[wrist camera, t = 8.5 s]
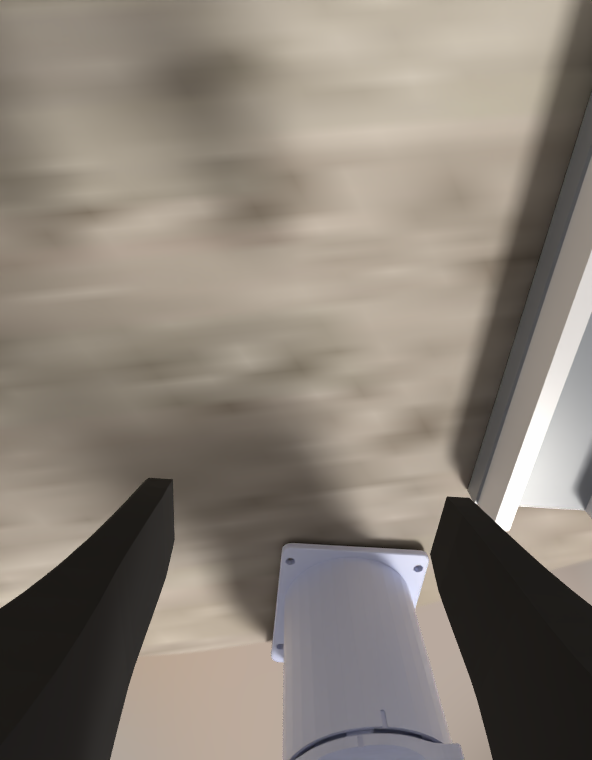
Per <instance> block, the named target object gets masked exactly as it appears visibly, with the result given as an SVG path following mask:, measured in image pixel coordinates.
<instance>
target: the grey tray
mask: <svg viewBox="0 0 592 760" xmlns="http://www.w3.org/2000/svg"><path fill="white" fill-rule="evenodd" d="M467 491H468V492H469V494H470V496H471V498H472V500H473V502H475V503H476V504H478V506H479V507H480V508H481V509H482V510H483V511H484V512H485V513H486V514H488V515H489V516H490V517H491V518H492V519H493V520H494V521H495V522H496V523H497V524H498V525H499V526H500V527H501V528H502V529H503V530H504V531H509V530H510V527H511V525H512V522H513V519H514V517H515V514H516V511H517V509H518V506H522V507H538V508H554V509H570V510H585V511H586V512H587V513H588V515H589V516H590V517H591V518H592V92H591V95H590V98H589V102H588V105H587V108H586V111H585V114H584V118H583V121H582V124H581V127H580V130H579V134H578V137H577V140H576V143H575V147H574V150H573V153H572V156H571V159H570V163H569V166H568V169H567V172H566V175H565V179H564V182H563V185H562V188H561V192H560V195H559V198H558V201H557V204H556V208H555V211H554V214H553V217H552V220H551V224H550V227H549V230H548V233H547V237H546V240H545V243H544V246H543V249H542V253H541V256H540V259H539V262H538V265H537V269H536V272H535V275H534V278H533V282H532V285H531V288H530V291H529V294H528V298H527V301H526V304H525V307H524V310H523V314H522V317H521V320H520V323H519V327H518V330H517V333H516V336H515V339H514V343H513V346H512V349H511V352H510V355H509V359H508V362H507V365H506V368H505V372H504V375H503V378H502V381H501V384H500V388H499V391H498V394H497V397H496V400H495V404H494V407H493V410H492V413H491V417H490V420H489V423H488V426H487V429H486V433H485V436H484V439H483V442H482V445H481V449H480V452H479V455H478V458H477V461H476V465H475V468H474V471H473V474H472V478H471V481H470V484H469V487H468V490H467Z"/></svg>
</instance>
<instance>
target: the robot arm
mask: <svg viewBox="0 0 592 760" xmlns="http://www.w3.org/2000/svg"><path fill="white" fill-rule="evenodd" d="M174 540H175V539H174V507H173V479H157V478H148V479H147V480H146V481H144V482H143V484H142V485H141V486H140V487H139V488H138V489H137V490H136V491H135V492H134V493H133V494H132V495H131V497H130V498H129V499H128V500H127V501H126V502H125V503H124V504H123V505H122V506H121V507H120V508H119V509H118V510H117V511H116V512H115V513H114V514H113V515H112V516H111V517H110V518H109V519H108V520H107V521H106V522H105V523H104V524H103V525H102V526H101V527H100V528H99V529H98V530H97V531H96V532H95V533H94V534H93V535H92V536H91V537H90V538H88V539H87V540H86V541H85V542H84V543H83V544H82V545H81V546H80V547H78V548H77V549H76V550H75V551H74V552H73V553H72V554H71V555H69V556H68V557H67V558H66V559H65V560H64V561H63V562H61V563H60V564H59V565H58V566H57V567H55V568H54V569H53V570H52V571H50V572H49V573H48V574H47V575H45V576H44V577H43V578H42V579H40V580H39V581H38V582H36V583H35V584H34V585H32V586H31V587H30V588H29V589H27V590H26V591H25V592H23V593H22V594H20V595H19V596H18V597H16V598H15V599H13V600H12V601H10V602H9V603H8V604H6V605H5V606H3V607H2V608H0V760H110V757H111V752H112V749H113V745H114V740H115V737H116V732H117V728H118V725H119V721H120V717H121V713H122V709H123V705H124V702H125V697H126V694H127V690H128V686H129V683H130V679H131V676H132V673H133V670H134V667H135V663H136V661H137V658H138V655H139V652H140V650H141V647H142V644H143V641H144V638H145V635H146V633H147V630H148V627H149V624H150V621H151V619H152V616H153V613H154V610H155V607H156V604H157V602H158V599H159V596H160V593H161V590H162V587H163V584H164V581H165V578H166V575H167V571H168V566H169V562H170V558H171V553H172V549H173V544H174ZM430 555H431V560H432V564H433V569H434V574H435V578H436V582H437V586H438V590H439V594H440V596H441V599H442V602H443V605H444V608H445V611H446V613H447V616H448V619H449V622H450V624H451V627H452V630H453V633H454V635H455V638H456V640H457V643H458V646H459V649H460V652H461V654H462V657H463V660H464V663H465V665H466V668H467V671H468V673H469V676H470V679H471V682H472V685H473V688H474V691H475V694H476V697H477V701H478V705H479V708H480V712H481V716H482V720H483V723H484V727H485V730H486V735H487V738H488V742H489V746H490V750H491V754H492V758H493V760H592V606H591V605H590V604H589V603H587V602H586V601H585V600H584V599H582V598H581V597H580V596H578V595H577V594H576V593H575V592H573V591H572V590H571V589H570V588H569V587H567V586H566V585H565V584H564V583H563V582H561V581H560V580H559V579H558V578H557V577H555V576H554V575H553V574H552V573H551V572H549V571H548V570H547V569H546V568H545V567H544V566H543V565H541V564H540V563H539V562H538V561H537V560H536V559H535V558H534V557H532V556H531V555H530V554H529V553H528V552H527V551H526V550H525V549H524V548H523V547H521V546H520V545H519V544H518V543H517V542H516V541H515V540H514V539H513V538H512V537H511V536H510V535H509V534H508V533H506V532H505V531H504V530H503V529H502V528H501V527H500V526H499V525H498V524H497V523H496V522H495V521H494V520H493V519H492V518H491V517H490V516H489V515H488V514H486V513H485V512H484V511H483V510H482V509H481V508H480V507H479V506H478V505H477V504H476V503H475V502H473V501H472V500H471V499H470V498H461V497H447V498H446V501H445V505H444V508H443V512H442V515H441V519H440V522H439V526H438V529H437V532H436V536H435V539H434V543H433V546H432V550H431V553H430ZM288 558H292V559H291V560H289V559H288ZM428 563H429V558H428V555H427V553H426V552H424V551H422V550H408V549H390V548H372V547H354V546H337V545H319V544H301V543H288V544H285V545H284V546H283V548H282V553H281V563H280V572H279V582H278V592H277V602H276V612H275V621H274V631H273V641H272V651H271V657H272V659H273V660H274V661H276V662H284V680H283V681H284V682H283V685H284V686H283V687H284V689H283V760H465V759H464V755H463V752H462V748H461V745H460V744H458V743H452V740H451V737H450V733H449V729H448V726H447V722H446V719H445V715H444V711H443V708H442V704H441V701H440V697H439V694H438V690H437V687H436V683H435V679H434V676H433V672H432V669H431V665H430V662H429V658H428V654H427V651H426V647H425V644H424V640H423V637H422V633H421V630H420V626H419V622H418V619H417V615H416V612H415V608H416V604H417V601H418V597H419V594H420V591H421V587H422V584H423V580H424V577H425V573H426V570H427V566H428ZM416 565H419V566H416Z"/></svg>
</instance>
